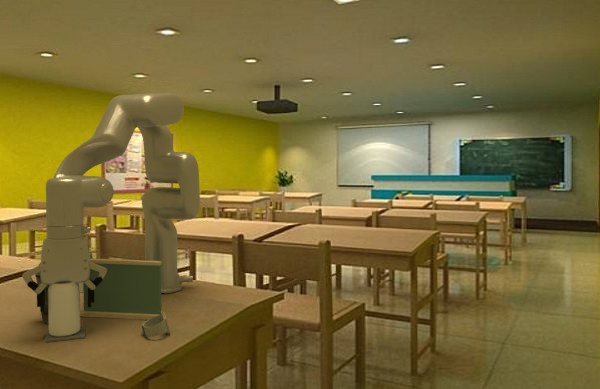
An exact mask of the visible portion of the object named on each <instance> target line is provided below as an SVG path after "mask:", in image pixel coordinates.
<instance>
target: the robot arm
mask: <svg viewBox="0 0 600 389" xmlns="http://www.w3.org/2000/svg"><path fill="white" fill-rule="evenodd" d="M184 105H185V104H184V102H183V99H182V98H181V97H180V96H179V95H178V94H177V93H173V92H172V93H171V92H165V93H162V92H159V93H157V92H155V93H154V92H153V93H152V92H151V93H149V92H147V93H146V92H144V93H143V92H142V93H134V94H133V93H132V94H120V95H117V96H114V97H113V98H112V99H111V100H110V101H109V102H108V105H107V107H106V108H105V110H104V112H103V115H102V117H101V118H100V121H99V123H98V124H97V127H96V129H95V131H94V132H93V135H92V136H91V137H90V138H89V139H87V140H85V141H84V142H83V143H82V144H80V145H79V146H77V147H76V148H75V149H73V150H72V151H71V152H69V153H68V154H67V155H66V156H65V157H64V158H63V160H62V161H61V162H60V164H59V166H58V167H57V170H56V171H55V173H54V175H53V177H52V178H48V179H47V181H46V182H45V202H46V203H45V212H46V213H45V216H46V217H45V218H46V219H45V220H46V222H45V223H46V238H44V239H43V241H42V245H41V254H40V263H41V265H39V264H38V265H39V266H38V265H37V266H35V267H33V268H31V269H29V270H26V271H25V272H24V273H23V274H22V275H21V277H22V279H23V280H24V282H25V284H26V286H27V287H28V288H29V289H31V291H33V292H35V294H36V307H37V308H39V309H40V311H39V312H40V313H41V312H42V311H44V309H45V291H44V288H45V287H46V286H47V285H52V284H53V283H68V282H73V283H81V282H84V283H85V284H86V285H87V286H88V287H89V288H88V307H91V303H92V302H94V289H95V288H96V287H97V286H98V285H99V284H100V283H101V282H102V280H103V278H104V276H105V274H106V273H107V268H105V267H102V266H100V265H97V264H95V263H93V262H90V252H91V251H90V243H89V240H88V237H87V236H84V235H86V234H90V233H91V226H86V225H84V208H89V209H90V208H91V209H93V208H94V209H97V208H103V207H105V206H107V205H108V204H109V203H110V202H111V201H112V200H113V198H114V192H115V191H114V186H113V184H112V183H111V181H110V180H109V179H107V178H106V177H103V176H99V175H98V176H97V175H85V174H86V173H87V172H88V171H90V170H91V169H93V168H95V167H96V166H97V167H98V166H99V165H101V164H104V163H107V162H110V161H112V160H114V159H116V158H119V157H121V156H122V155H124V154H125V152H126V151H127V147H128V146H129V143H130V141H131V139H132V137H133V134H134V132H135V131H136V128H138V130H139V132H140V134H141V138H142V142H143V154H144V155H143V156H144V168H145V169H144V170H145V175H146V176H145V177H146V178H147V180H148V181H149V182H151V183H152V182H153V183H157V184H175V185H176V184H178V187H171V186H170V187H168V186H166V187H165V186H156V187H155V186H154V187H151V188H148V189H147V190H146V191H145V192H144V193H143V195H142V197H141V207H142V212H143V218H144V227H145V228H144V229H145V230H144V232H145V235H144V236H145V238H144V239H145V247H144V248H145V251H144V252H145V258H144V259H145V260H144V261H162V264H161V293H165V294H170V293H171V294H172V293H176V292H179V291H180V290H182V289H183V283H193V282H194V281H193V280H194V279H193V275H184V274H183V275H180V274H179V273H178V231H177V230H178V229H177V227H176V225H175V223H174V222H173V220H192V219H194V218H196V217H197V216H198V215H199V212H200V210H201V209H200V208H201V195H200V194H201V191H200V170H199V163H198V160H197V158H196V157H195V156H194V155H193V154H192V153H190V152H188V151H187V152H186V151H174V150H175V149H174V141H173V135H172V132H171V130H170V128H169V126H170V125H175V124H177V123H178V122H180V121H181V119H182V118H183V117H184V113H185V106H184ZM91 269H93V270H95V271H98V272H99V275H98V277H97V278H96V279H95V280H94V281H93V280H92V279H91V278H90V272H91ZM38 272H40V278H41V283H40V284H39V285H38V284H37V281H34V280H33V278H32V276H34V275H35V274H37V273H38Z"/></svg>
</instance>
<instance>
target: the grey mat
mask: <svg viewBox="0 0 600 389" xmlns="http://www.w3.org/2000/svg"><path fill="white" fill-rule="evenodd" d="M86 328H87V325H80V330H79V332H78V333H76V334H74V335H71V336H66V337H54V336H51V335H50V334H49V328H47V332H46V336H45V339H44V343H52V342H53V343H54V342H63V341H72V340H79V339H80V340H81V339H82V340H83V339H86Z"/></svg>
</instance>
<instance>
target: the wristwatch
mask: <svg viewBox="0 0 600 389" xmlns="http://www.w3.org/2000/svg"><path fill="white" fill-rule="evenodd" d="M140 327H141V331H142V334H143V337H146V338H152V337H158V336H161V335H165V334H166V333H167V335H169V334H170V332H171V330H170V327H169V323H168V319H167V315H166V312H164V311H163V312H162V315H158V316H155V317H153V318H150V319H148V320H145V321H143V323H142V324H141V326H140Z"/></svg>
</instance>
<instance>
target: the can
mask: <svg viewBox="0 0 600 389" xmlns="http://www.w3.org/2000/svg"><path fill="white" fill-rule="evenodd" d="M48 318H49V323H48V329H49V334H50V335H51V336H54V337H66V336H71V335H74V334H76V333H78V332H79V330H80V326H81V293H80V288H79V284H78V283H73V282H68V283H53V284H52V285H49V287H48Z"/></svg>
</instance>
